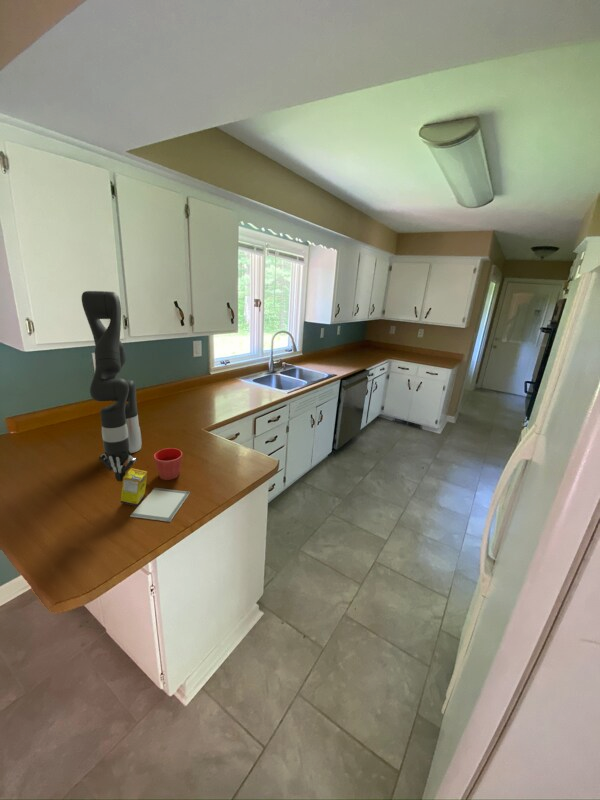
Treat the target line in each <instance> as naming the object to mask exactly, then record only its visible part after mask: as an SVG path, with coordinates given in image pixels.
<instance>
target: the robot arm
mask: <svg viewBox="0 0 600 800" xmlns="http://www.w3.org/2000/svg"><path fill="white" fill-rule="evenodd" d="M81 305H82V308H83V311H84V314H85V317H86V320H87V322H88V325H89V328H90V331H91V333H92V334H91V335H92V337H93V341H94V345H95V348H94V359H95V360H94V361H95V363H94V364H95V366H94V367H95V369H94V374H93V377H92V380H91V383H90V384H91V385H90V387H89V395H90V397H91V398H92V400H94V401H96V402H113V404H110V405H107V406H104V407H102V408H101V409H100V412H99V413H100V414H99V415H100V420H101V421H100V422H101V437H102V443H103V450H104V453H102V454H101V455H100V456H98V459H99V460H100V461H101V462H102V464H104V466H105V467H106V468H107V470H108V471H113V472H114V475H115V480H116V482H121V483H123V477H124V476H125V475H126V473H127V472H128V471H129V470H130V469H131V468H132V467H133V465H135V463H136V462H137V461H138V458H137V457H136V456H135V457H133V456H132V454H133V453H137V452H138V451H140V450H141V449H142V446H143V445H142V434H141V427H140V424H139V423H140V422H139V412H138V404H137V403H138V402H137V386H136V383H135V381H134V380H130V379H129V380H125V379H124V378H121V377H119V378H118V377H117V375H118V373H120V372H121V370H122V368H123V367H124V365H125V363H126V361H127V359H126V352H125V347H124V344H123V343H122V342H121V339H120V338H121V328H122V327H121V326H122V306H121V305H122V304H121V300H120V297H119V295H118V294H117V292H115V291H105V290H103V291H101V290H87V291H83V292H82V294H81ZM102 320H109V324H108V326H107V327H106V326H105V325H104V324H103V322H102ZM116 377H117V378H116Z"/></svg>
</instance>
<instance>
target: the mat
mask: <svg viewBox="0 0 600 800" xmlns="http://www.w3.org/2000/svg"><path fill="white" fill-rule="evenodd" d="M190 494H191V492H190V491H184V490H177V489H167V488H161V487H154V488H153V489H152V490H151V491H150V493H149V494H147V496H146V497H145V498H143V500H142V501H141V502H140V503H139V504H138V505H137V507H135V510H134V511H133V512H131V514H130V517H132V518H137V519H138V518H139V519H146V520H152V521H161V522H167V523H171V522H172V520H173V519H174V517H175V516H176V514H177V512H179V510H180V508H182V505H183V504H184V502H185V501H186V500H187V499H188V497H189V495H190Z"/></svg>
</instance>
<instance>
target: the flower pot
mask: <svg viewBox="0 0 600 800" xmlns="http://www.w3.org/2000/svg"><path fill="white" fill-rule="evenodd" d="M153 456H154V457H153V458H154V462H155V463H154V464H155V466H156V470H157V473H158V476H159V478H160V479H162V480H165V481H168V480H174V479H175V478H178V477H179V475H180V473H181V472H180V471H181V468H182V467H181V466H182V460H183V452H182V450H180V449H178V448H175V447H168V448H167V447H166V448H163V449H160V450H158V451H157V452H155V453H154V455H153Z"/></svg>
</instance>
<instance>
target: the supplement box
mask: <svg viewBox="0 0 600 800" xmlns="http://www.w3.org/2000/svg"><path fill="white" fill-rule="evenodd" d="M147 477H148V471H147V470H141V469H137V468H133V467H131V468H130V469H128V470H127V471H126V472H125V476H124V477H123V481H122V482H121V483H122V485H121V493H120V494H121V496H120V503H122V504H127V505H132V506H137V507H138V506H139V505H140V504H141V502H142V501H143V499H144V497H145V493H146V486H147V480H148V479H147Z"/></svg>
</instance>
